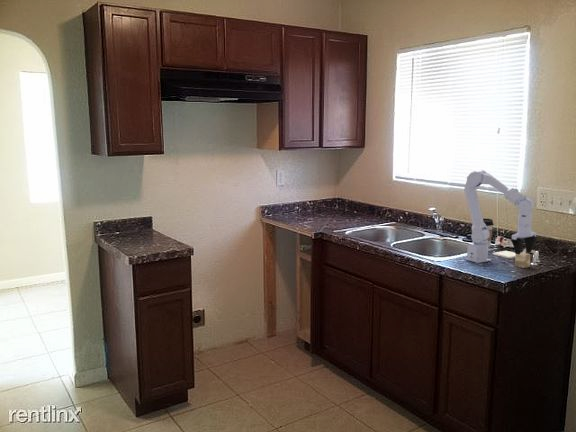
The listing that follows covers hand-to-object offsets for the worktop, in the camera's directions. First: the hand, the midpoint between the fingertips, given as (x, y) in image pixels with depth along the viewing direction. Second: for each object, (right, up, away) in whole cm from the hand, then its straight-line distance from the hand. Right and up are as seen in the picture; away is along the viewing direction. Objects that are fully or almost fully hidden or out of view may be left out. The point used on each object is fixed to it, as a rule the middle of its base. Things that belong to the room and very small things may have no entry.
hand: (523, 252), depth 238 cm
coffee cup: (-2, 0, +43) cm, 43 cm away
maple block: (0, -6, +1) cm, 7 cm away
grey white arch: (+7, -5, +9) cm, 13 cm away
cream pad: (+2, -3, +22) cm, 23 cm away
